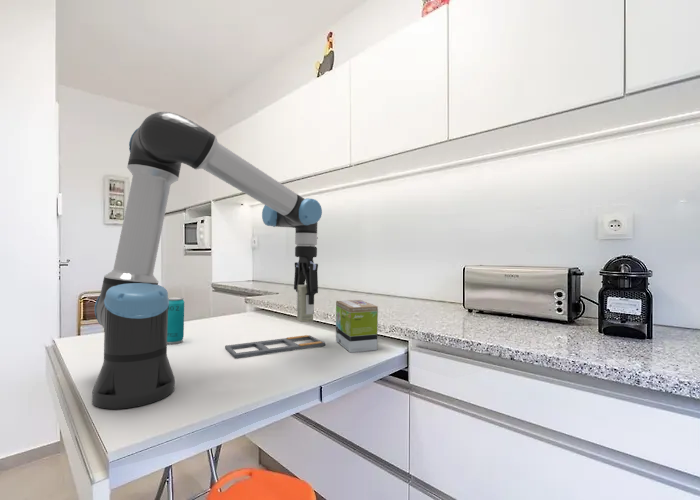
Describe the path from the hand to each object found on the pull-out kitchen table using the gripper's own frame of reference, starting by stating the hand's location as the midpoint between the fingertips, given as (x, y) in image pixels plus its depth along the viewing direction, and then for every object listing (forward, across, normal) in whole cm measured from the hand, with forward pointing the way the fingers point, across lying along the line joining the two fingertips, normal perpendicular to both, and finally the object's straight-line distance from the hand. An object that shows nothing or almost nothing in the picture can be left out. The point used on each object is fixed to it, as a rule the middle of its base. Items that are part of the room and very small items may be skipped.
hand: (305, 312), depth 120 cm
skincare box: (+3, 0, 0) cm, 3 cm away
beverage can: (+11, +22, +38) cm, 45 cm away
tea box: (+11, -11, -14) cm, 21 cm away
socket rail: (+11, 0, +10) cm, 15 cm away
